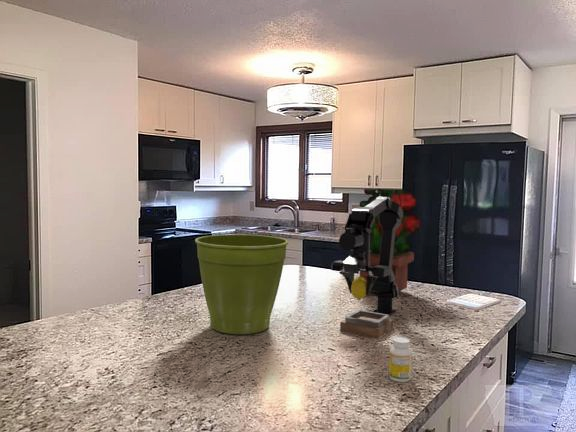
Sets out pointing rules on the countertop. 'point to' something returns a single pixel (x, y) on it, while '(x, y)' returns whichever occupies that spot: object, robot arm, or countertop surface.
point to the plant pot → (240, 279)
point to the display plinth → (367, 324)
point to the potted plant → (402, 233)
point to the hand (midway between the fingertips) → (359, 294)
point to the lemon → (359, 288)
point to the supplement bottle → (400, 360)
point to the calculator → (473, 301)
